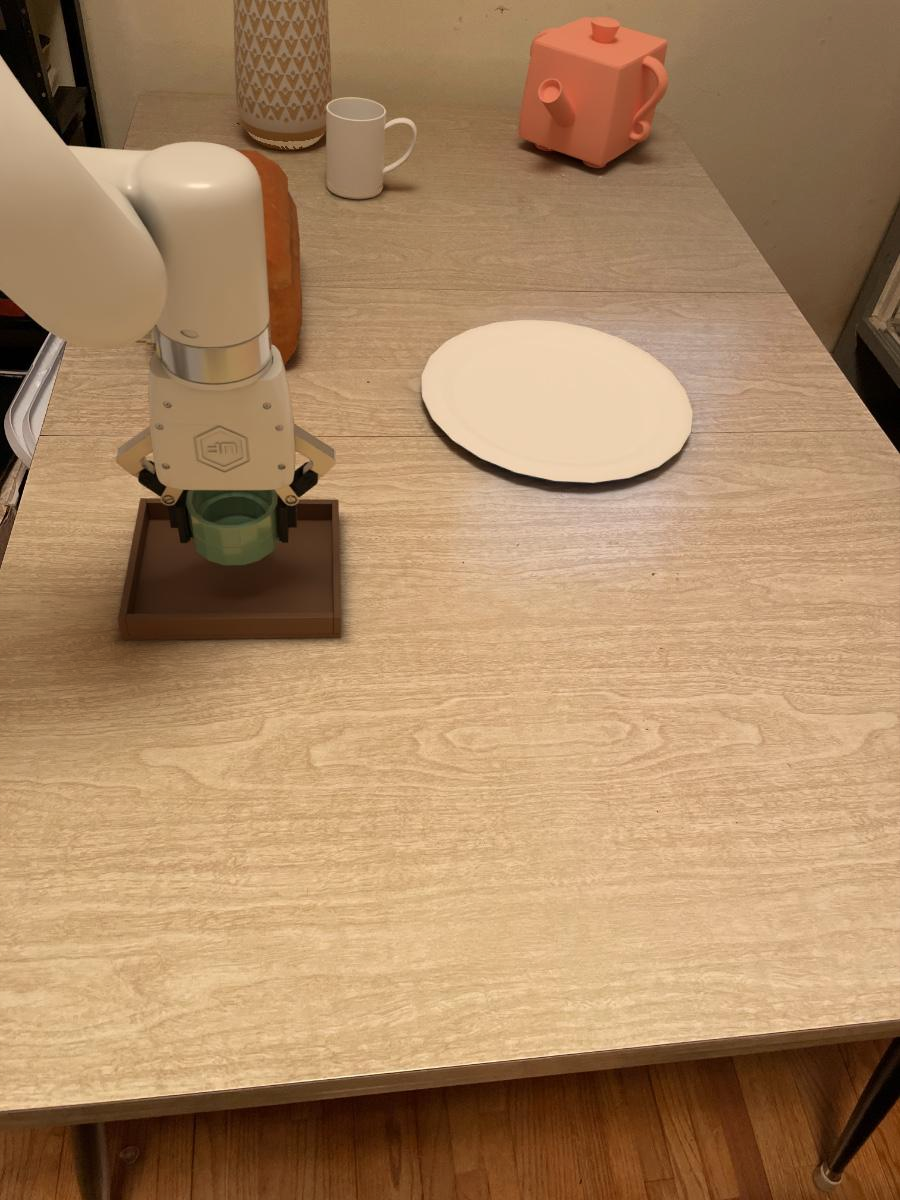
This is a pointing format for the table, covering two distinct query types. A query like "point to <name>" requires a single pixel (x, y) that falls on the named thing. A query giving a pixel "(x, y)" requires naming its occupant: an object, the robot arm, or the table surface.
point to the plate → (556, 401)
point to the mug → (359, 146)
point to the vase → (282, 68)
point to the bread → (280, 254)
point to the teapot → (592, 89)
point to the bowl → (233, 524)
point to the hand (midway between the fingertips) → (235, 530)
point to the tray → (233, 583)
